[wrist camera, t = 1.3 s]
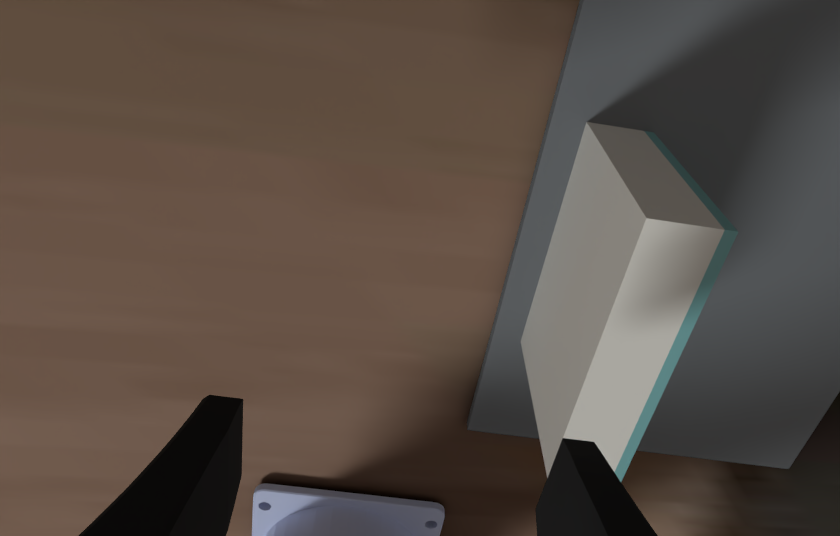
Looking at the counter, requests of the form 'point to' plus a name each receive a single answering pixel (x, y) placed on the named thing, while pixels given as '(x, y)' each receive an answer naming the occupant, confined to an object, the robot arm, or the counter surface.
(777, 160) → the mat
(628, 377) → the tile
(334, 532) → the robot arm
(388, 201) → the counter surface
